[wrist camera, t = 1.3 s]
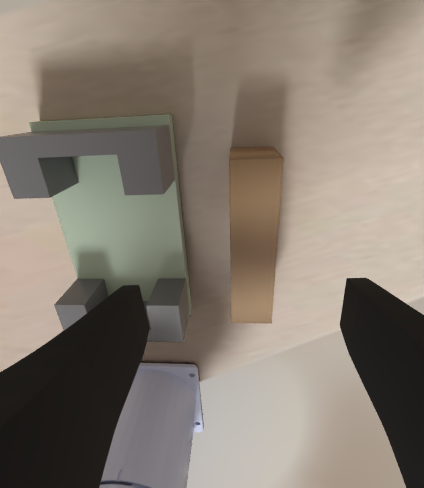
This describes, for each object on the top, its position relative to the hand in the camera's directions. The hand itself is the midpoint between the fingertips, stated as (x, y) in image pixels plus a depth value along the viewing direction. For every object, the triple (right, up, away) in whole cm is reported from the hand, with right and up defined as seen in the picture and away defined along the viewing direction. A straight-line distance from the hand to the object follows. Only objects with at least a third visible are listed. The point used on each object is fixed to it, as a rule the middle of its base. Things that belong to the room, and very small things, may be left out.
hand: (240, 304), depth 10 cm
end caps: (-7, +3, +10) cm, 12 cm away
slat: (+2, +3, +9) cm, 10 cm away
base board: (-7, +3, +10) cm, 12 cm away
